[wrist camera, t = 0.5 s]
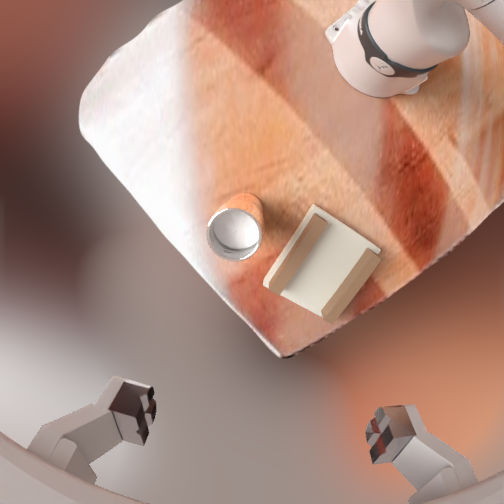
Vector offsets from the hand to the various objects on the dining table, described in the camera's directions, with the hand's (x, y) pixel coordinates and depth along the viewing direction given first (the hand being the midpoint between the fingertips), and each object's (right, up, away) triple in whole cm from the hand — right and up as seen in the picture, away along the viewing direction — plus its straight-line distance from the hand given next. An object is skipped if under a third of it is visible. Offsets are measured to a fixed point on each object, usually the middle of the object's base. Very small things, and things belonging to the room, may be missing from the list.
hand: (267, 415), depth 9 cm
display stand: (+12, +4, +41) cm, 43 cm away
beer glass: (-2, +13, +39) cm, 41 cm away
